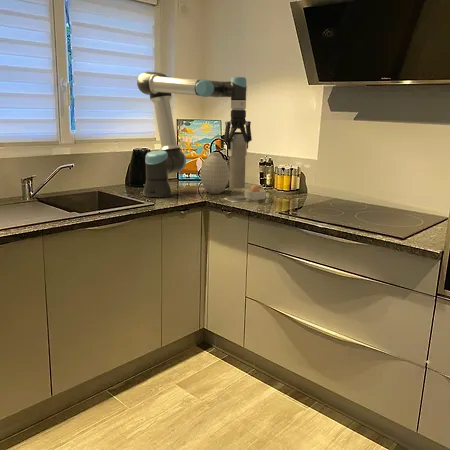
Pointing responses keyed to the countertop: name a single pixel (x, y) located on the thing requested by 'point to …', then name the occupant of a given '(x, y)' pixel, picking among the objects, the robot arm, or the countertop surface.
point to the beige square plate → (236, 199)
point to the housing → (255, 195)
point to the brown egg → (255, 188)
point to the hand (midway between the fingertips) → (237, 155)
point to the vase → (214, 173)
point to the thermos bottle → (237, 162)
